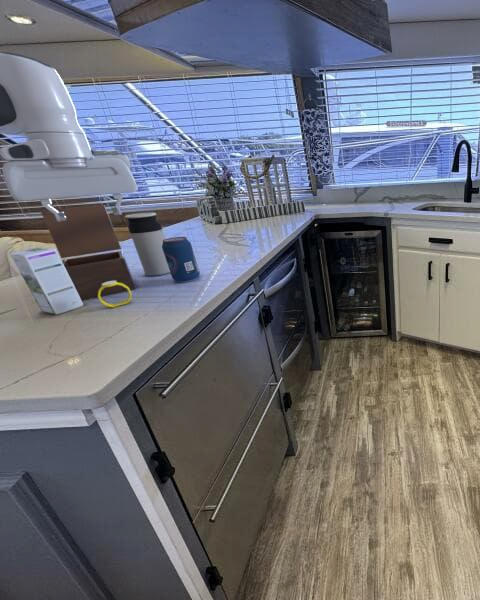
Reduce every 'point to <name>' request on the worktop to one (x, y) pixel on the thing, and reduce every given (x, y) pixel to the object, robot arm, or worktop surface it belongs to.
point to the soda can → (180, 259)
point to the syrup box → (47, 280)
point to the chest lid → (82, 231)
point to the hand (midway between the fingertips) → (91, 217)
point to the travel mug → (148, 242)
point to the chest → (99, 274)
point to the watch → (109, 284)
